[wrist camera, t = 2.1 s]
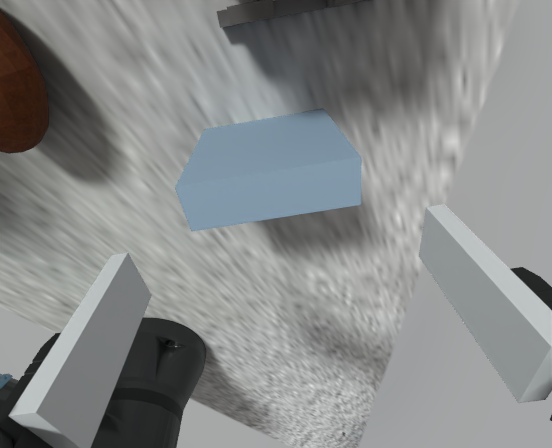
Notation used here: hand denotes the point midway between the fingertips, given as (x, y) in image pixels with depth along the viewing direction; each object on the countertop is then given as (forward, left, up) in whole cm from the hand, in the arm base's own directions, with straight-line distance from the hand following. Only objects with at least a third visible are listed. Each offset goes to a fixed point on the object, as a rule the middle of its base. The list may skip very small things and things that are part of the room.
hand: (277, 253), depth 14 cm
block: (0, 0, -18) cm, 18 cm away
